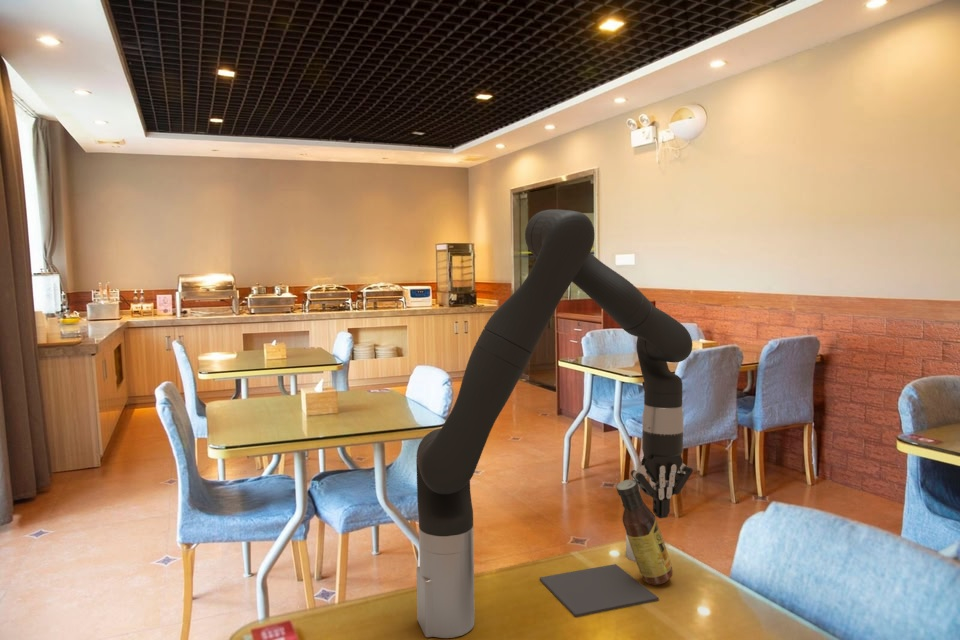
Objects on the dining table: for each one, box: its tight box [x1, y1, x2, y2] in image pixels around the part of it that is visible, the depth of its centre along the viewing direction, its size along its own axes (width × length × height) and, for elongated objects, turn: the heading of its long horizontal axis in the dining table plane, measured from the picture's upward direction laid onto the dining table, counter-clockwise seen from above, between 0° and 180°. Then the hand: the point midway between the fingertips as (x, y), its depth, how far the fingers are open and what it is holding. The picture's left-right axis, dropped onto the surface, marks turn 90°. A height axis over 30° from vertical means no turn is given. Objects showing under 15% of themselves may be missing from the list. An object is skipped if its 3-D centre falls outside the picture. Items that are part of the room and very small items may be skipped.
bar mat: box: [539, 563, 660, 618], centre depth 124 cm, size 17×15×1 cm
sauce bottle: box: [615, 479, 674, 586], centre depth 125 cm, size 6×6×20 cm
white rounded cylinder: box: [625, 533, 636, 562], centre depth 138 cm, size 6×6×7 cm
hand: (661, 516), depth 126 cm, fingers closed
